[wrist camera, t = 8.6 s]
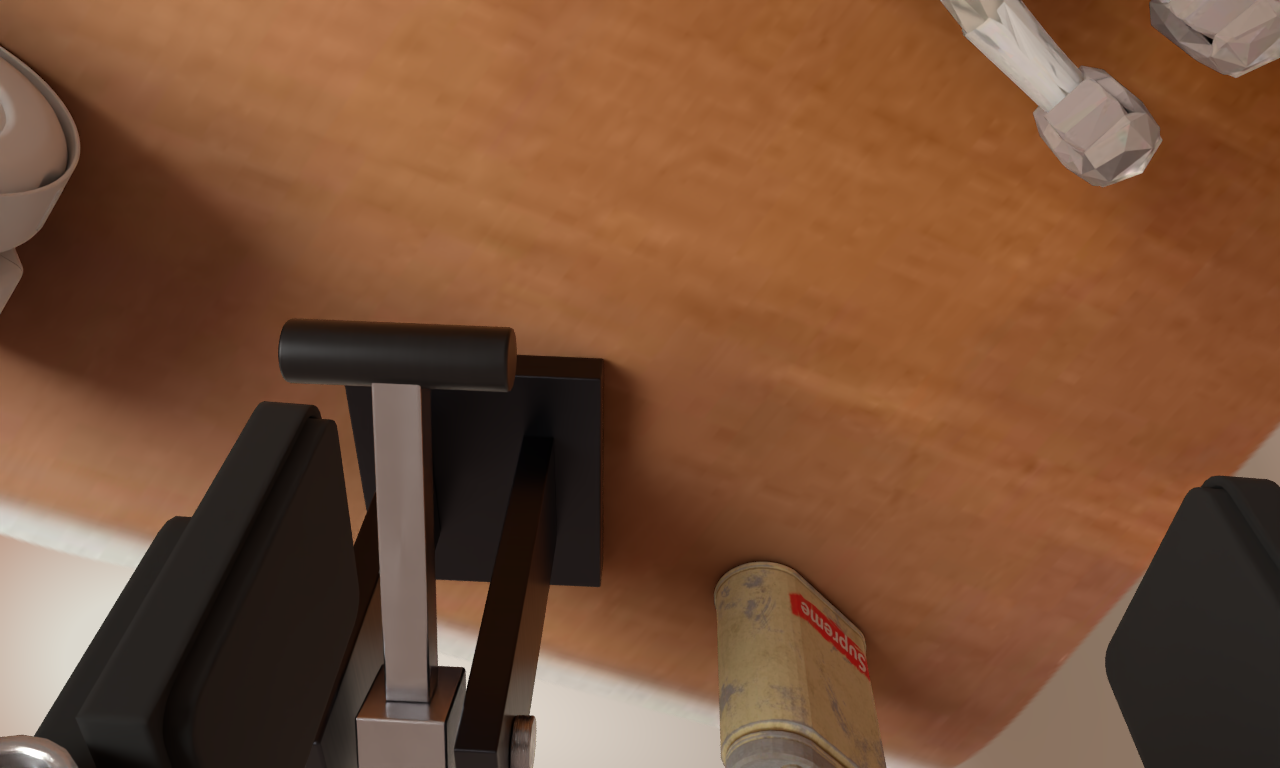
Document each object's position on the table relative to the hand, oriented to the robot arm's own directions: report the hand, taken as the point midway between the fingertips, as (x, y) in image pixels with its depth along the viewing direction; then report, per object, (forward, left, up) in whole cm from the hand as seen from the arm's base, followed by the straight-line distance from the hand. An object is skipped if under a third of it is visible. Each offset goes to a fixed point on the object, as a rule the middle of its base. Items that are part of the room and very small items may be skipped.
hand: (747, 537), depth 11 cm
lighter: (+21, +4, -18) cm, 28 cm away
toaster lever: (+10, -7, -10) cm, 15 cm away
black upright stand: (+14, -7, -18) cm, 24 cm away
